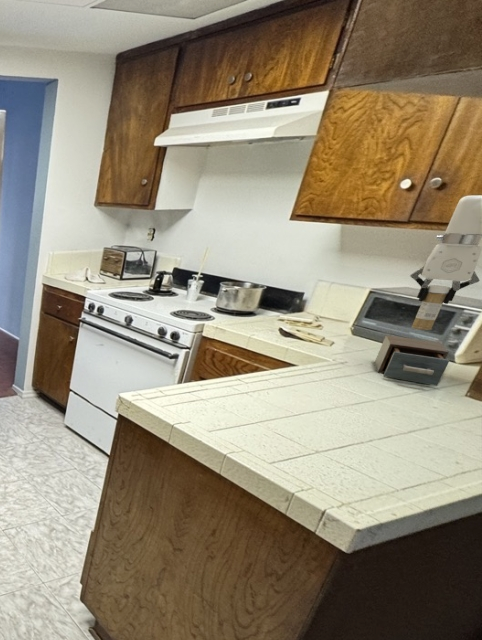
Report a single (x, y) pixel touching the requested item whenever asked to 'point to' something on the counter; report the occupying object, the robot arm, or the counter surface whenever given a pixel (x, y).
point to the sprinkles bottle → (430, 307)
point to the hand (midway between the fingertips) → (433, 301)
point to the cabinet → (408, 344)
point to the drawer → (415, 365)
